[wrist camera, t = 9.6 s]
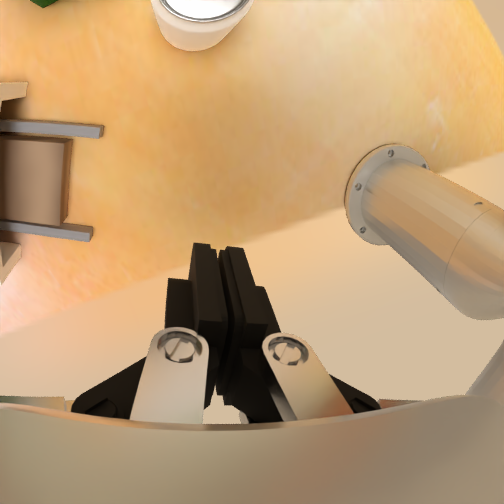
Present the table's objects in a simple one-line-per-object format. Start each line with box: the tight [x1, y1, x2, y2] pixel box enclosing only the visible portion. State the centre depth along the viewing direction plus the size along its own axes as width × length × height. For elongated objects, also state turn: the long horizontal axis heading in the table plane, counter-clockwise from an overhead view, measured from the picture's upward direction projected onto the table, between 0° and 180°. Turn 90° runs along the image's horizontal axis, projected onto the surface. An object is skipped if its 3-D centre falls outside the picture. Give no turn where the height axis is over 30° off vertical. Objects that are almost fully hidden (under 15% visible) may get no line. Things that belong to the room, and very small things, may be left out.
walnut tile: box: [0, 135, 73, 226], centre depth 25 cm, size 11×8×3 cm
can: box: [151, 0, 254, 51], centre depth 18 cm, size 6×6×12 cm
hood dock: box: [0, 82, 104, 286], centre depth 24 cm, size 15×19×6 cm
